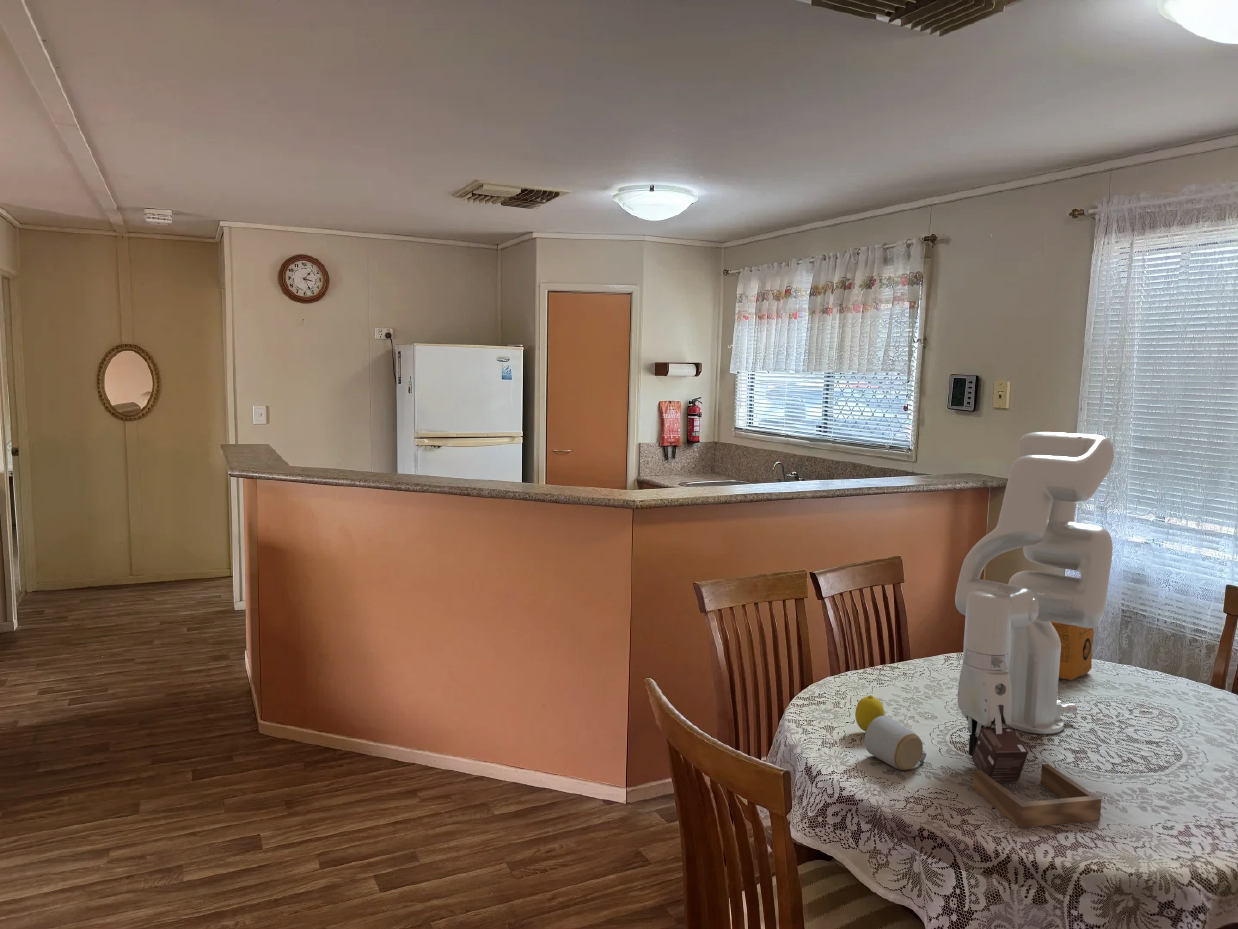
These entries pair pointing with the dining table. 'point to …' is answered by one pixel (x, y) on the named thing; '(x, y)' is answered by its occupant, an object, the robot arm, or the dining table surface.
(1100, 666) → the dining table surface
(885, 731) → the ceramic mug
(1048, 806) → the bay
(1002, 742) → the box
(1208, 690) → the dining table surface
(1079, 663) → the coffee package
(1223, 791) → the dining table surface
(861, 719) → the lemon
